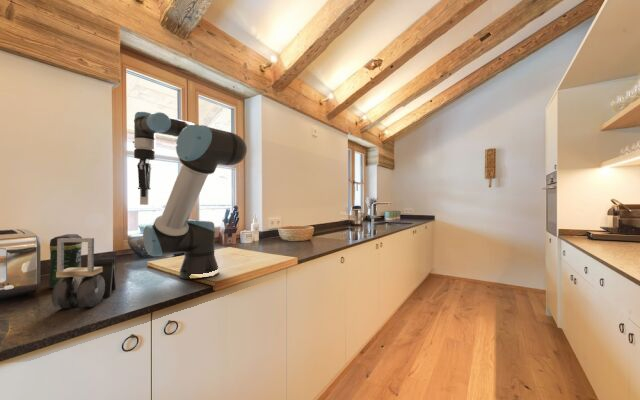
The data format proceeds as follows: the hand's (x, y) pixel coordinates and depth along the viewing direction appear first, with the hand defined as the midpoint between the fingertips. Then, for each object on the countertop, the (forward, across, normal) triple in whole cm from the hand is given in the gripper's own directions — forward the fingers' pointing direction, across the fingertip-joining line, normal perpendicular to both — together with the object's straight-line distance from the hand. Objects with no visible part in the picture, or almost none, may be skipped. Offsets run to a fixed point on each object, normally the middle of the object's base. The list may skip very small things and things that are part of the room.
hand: (144, 204), depth 117 cm
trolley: (+29, +36, -8) cm, 47 cm away
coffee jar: (+30, +10, -22) cm, 38 cm away
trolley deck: (+20, +36, -8) cm, 42 cm away
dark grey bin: (+30, +25, -6) cm, 39 cm away
